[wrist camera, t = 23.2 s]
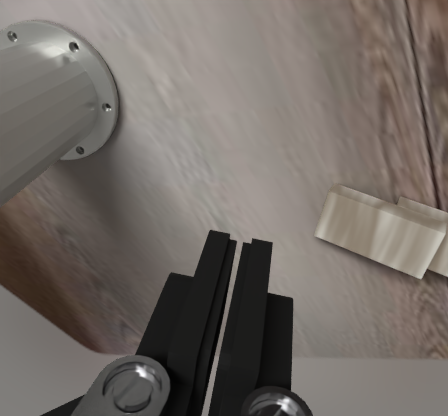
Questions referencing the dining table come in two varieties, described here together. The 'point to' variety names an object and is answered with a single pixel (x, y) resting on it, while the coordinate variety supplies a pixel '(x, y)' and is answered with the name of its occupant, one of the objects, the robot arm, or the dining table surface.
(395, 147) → the dining table surface
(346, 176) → the dining table surface
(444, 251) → the domino
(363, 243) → the domino
